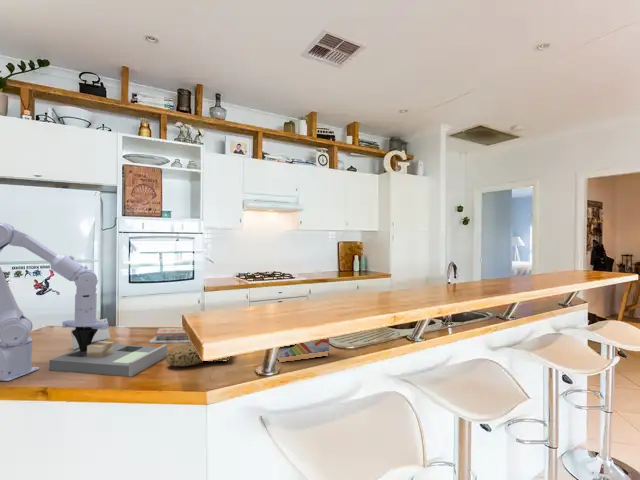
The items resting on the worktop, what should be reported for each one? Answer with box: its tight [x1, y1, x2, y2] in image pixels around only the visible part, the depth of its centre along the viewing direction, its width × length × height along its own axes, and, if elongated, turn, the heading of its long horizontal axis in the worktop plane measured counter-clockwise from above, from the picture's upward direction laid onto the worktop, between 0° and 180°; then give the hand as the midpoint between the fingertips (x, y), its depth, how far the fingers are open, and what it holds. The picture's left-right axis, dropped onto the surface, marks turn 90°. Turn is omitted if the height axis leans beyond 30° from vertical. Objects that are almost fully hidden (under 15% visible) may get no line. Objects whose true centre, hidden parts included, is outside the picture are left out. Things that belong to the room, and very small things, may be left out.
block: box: [87, 341, 115, 358], centre depth 110 cm, size 5×5×4 cm
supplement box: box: [70, 318, 111, 351], centre depth 123 cm, size 7×7×13 cm
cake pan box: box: [278, 337, 330, 358], centre depth 119 cm, size 19×5×18 cm, turn 112°
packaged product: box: [148, 327, 192, 344], centre depth 138 cm, size 18×5×10 cm
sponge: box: [165, 343, 232, 367], centre depth 113 cm, size 13×8×20 cm
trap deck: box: [48, 343, 168, 377], centre depth 111 cm, size 18×27×4 cm, turn 83°
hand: (84, 350), depth 110 cm, fingers closed
